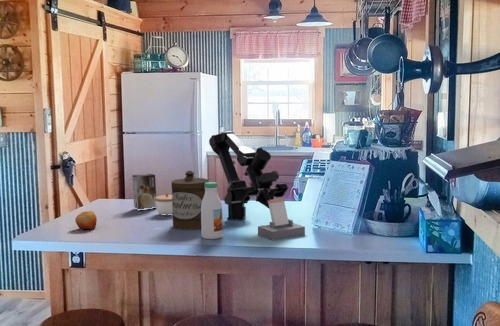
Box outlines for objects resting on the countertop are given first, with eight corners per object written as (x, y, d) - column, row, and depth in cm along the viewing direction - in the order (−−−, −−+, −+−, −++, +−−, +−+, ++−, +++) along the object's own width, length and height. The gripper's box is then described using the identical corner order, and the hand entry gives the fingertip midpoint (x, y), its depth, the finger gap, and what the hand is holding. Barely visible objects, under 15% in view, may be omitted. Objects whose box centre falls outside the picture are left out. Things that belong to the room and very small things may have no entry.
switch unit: (258, 234, 198) (257, 221, 198) (289, 229, 205) (289, 216, 205) (272, 240, 190) (272, 226, 189) (304, 234, 197) (304, 221, 196)
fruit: (104, 222, 216) (97, 207, 211) (94, 236, 210) (87, 221, 206) (87, 221, 219) (79, 206, 214) (77, 235, 213) (69, 220, 208)
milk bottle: (206, 240, 191) (205, 185, 188) (198, 236, 197) (196, 182, 195) (226, 237, 194) (225, 183, 192) (217, 233, 201) (216, 180, 199)
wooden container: (166, 228, 210) (164, 172, 208) (183, 220, 224) (181, 168, 222) (200, 231, 205) (198, 173, 203) (216, 222, 219) (214, 169, 217)
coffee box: (152, 206, 254) (151, 173, 252) (157, 209, 249) (155, 174, 247) (133, 209, 249) (132, 174, 248) (137, 211, 244) (136, 176, 242)
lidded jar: (151, 214, 238) (150, 193, 236) (172, 210, 244) (171, 190, 243) (162, 218, 229) (161, 196, 228) (184, 214, 236) (183, 193, 234)
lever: (272, 227, 197) (267, 200, 198) (286, 225, 200) (280, 199, 201) (275, 226, 195) (270, 199, 197) (289, 224, 198) (284, 197, 200)
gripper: (243, 166, 199) (259, 199, 191) (285, 162, 209) (302, 194, 200) (233, 184, 207) (248, 217, 199) (274, 180, 216) (290, 211, 208)
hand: (273, 209), depth 201 cm, fingers closed
